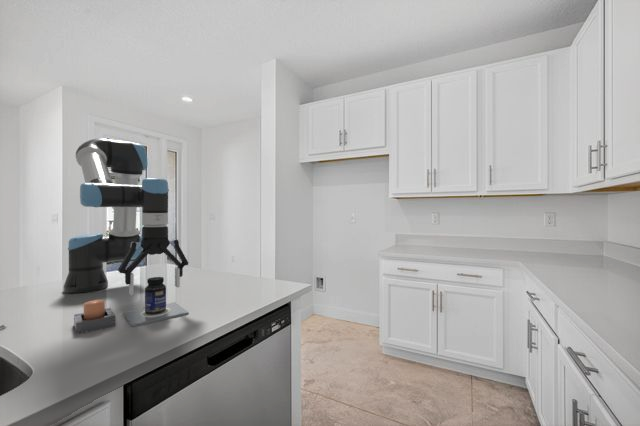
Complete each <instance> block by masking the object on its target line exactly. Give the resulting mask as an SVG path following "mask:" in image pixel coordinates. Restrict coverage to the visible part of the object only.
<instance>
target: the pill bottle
mask: <svg viewBox="0 0 640 426" xmlns="http://www.w3.org/2000/svg"><path fill="white" fill-rule="evenodd" d="M164 279H165V277H162V276H154V277H149V278H147V279H146V280H147V286H145V288H144V308H145V313H146V314H159V313H162V312H164V311H165V310H166V304H167V286H166V284H164V281H165V280H164Z"/></svg>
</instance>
